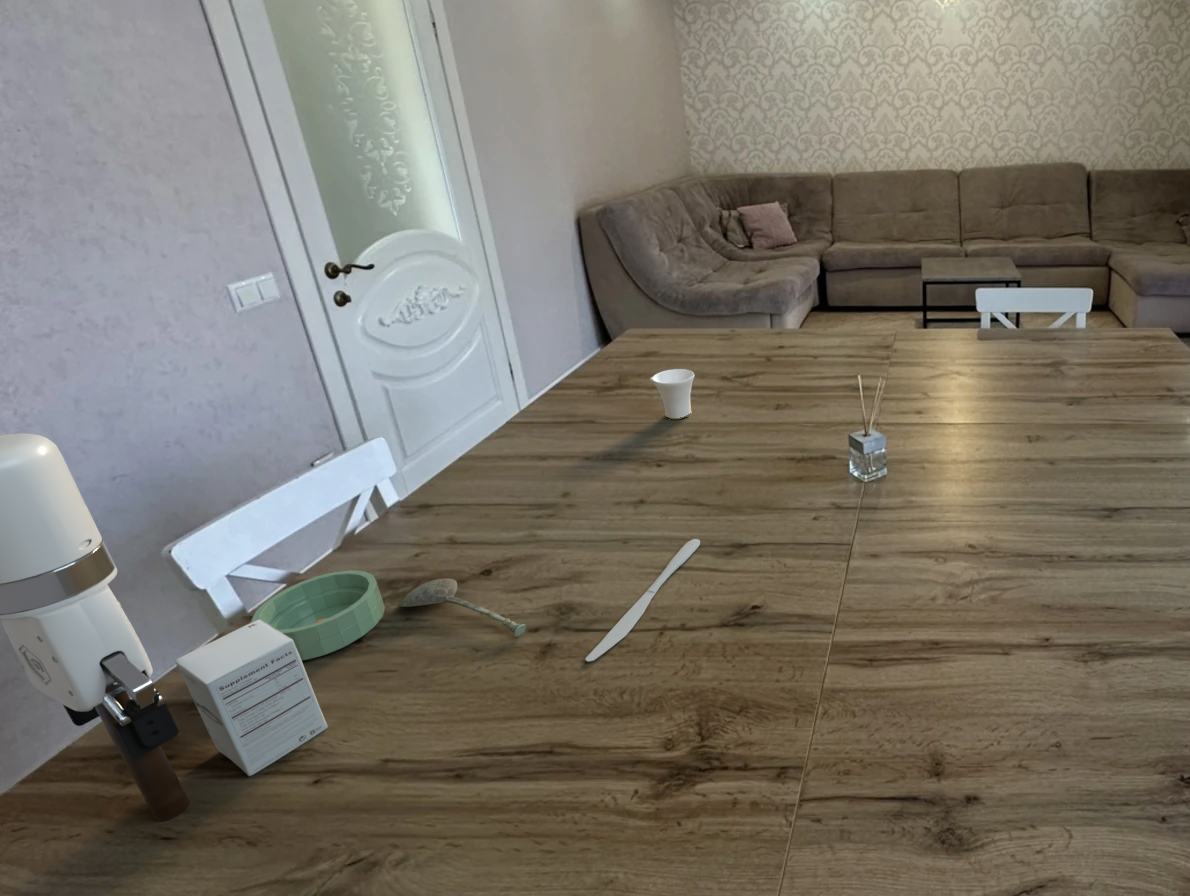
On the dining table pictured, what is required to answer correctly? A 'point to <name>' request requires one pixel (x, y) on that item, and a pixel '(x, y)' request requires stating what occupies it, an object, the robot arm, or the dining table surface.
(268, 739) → the white packaging box
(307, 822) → the dining table surface
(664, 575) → the butter knife
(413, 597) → the soupspoon
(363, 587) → the bowl
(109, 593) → the robot arm
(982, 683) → the dining table surface
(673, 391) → the cup
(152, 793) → the stirring stick
